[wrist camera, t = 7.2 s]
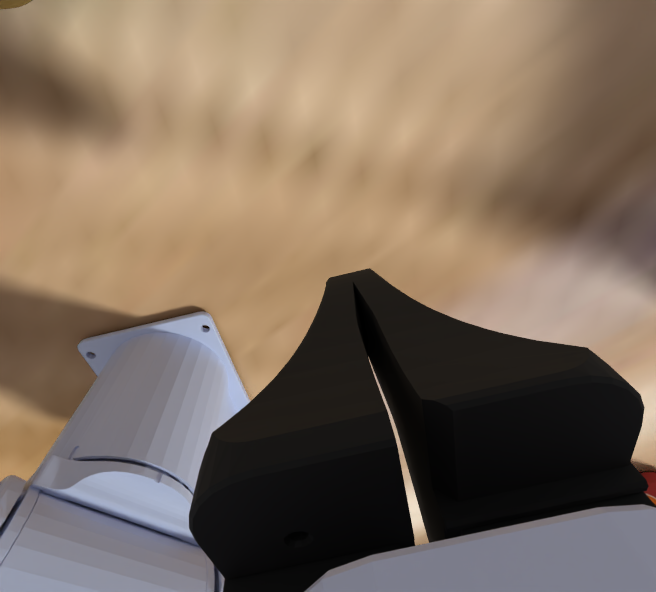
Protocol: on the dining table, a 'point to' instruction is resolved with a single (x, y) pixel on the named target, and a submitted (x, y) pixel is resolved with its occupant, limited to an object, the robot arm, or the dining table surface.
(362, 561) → the robot arm
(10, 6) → the cupcake
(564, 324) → the dining table surface
